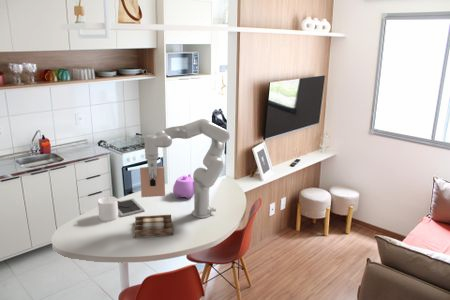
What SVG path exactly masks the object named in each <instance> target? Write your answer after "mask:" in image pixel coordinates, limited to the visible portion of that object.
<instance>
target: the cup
mask: <svg viewBox="0 0 450 300" xmlns="http://www.w3.org/2000/svg"><path fill="white" fill-rule="evenodd" d="M117 201H118V198H117V197H116V196H112V195H111V196H109V195H108V196H103V197H100V198H99V199H98V200H97V207H98V219H99V220H100V221H102V222H113V221H115V220H117V219H118V218H119V214H118V202H117Z"/></svg>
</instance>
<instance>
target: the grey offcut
mask: <svg viewBox="0 0 450 300" xmlns="http://www.w3.org/2000/svg"><path fill="white" fill-rule="evenodd" d="M151 229H164V223H143V230H151Z"/></svg>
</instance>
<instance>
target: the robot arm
mask: <svg viewBox="0 0 450 300" xmlns="http://www.w3.org/2000/svg"><path fill="white" fill-rule="evenodd" d="M201 134H203V135H204V136H206V137H208V138H210V139H211V143H210V146H209V149H208V150H207V152H206V154H205V155H204V157H203V160H202V164H203V166H204V167H206V168H207V169H206V168H204V167H198V168H195V170H194V172H193V174H192V175H193V177H192V178H193V179H194V195H193V197H194V200H193V201H194V202H193V203H194V204H193V205H194V206H193V208H194V209H193V210H192V211H191V215H192V216H193V217H194V218H198V219H205V218H209V217H210V216H211V215H212V212H213V213H214V212H217V208H214V207H213V206H212V207H210V188H211V187H213V186H214V185H215V183H216V182H217V180H218V178H219V177H220V175H221V173H222V171H223V169H224V160H222V158H221V157H222V154H223V151H224V149H225V145H226V143H228V141H229V139H230V138H231V137H230V133H229V131H228V130H227V129H225V128H223V127H221V126H219V125H217V124H215V123H213V122H211V121H209V120H207V119H205V118H201V119H197V120H194V121H192V122H189V123H186V124H183V125H176V126H169V127H166V128H164V129H160V130H159V131H157V132H155V134H147V135H145V136H144V137H143V138H144V140H143V141H144V156H145V158H144V159H145V160H147V167H148V172H149V176H150V186H156V182H155V175H156V176H157V167H158V159H159V148H163V149H164V148H169V147H170V146H171V145H172V144H173V139H183V140H186V139H187V140H189V139H192V138H193V137H197V136H199V135H201ZM153 171H154V172H153ZM153 174H154V175H153Z"/></svg>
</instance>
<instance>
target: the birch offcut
mask: <svg viewBox="0 0 450 300" xmlns="http://www.w3.org/2000/svg"><path fill="white" fill-rule="evenodd" d="M143 223H164V220H163V218H148V219H143Z"/></svg>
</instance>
